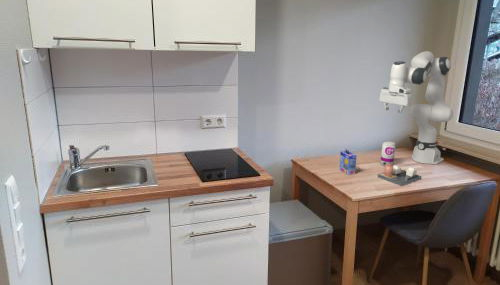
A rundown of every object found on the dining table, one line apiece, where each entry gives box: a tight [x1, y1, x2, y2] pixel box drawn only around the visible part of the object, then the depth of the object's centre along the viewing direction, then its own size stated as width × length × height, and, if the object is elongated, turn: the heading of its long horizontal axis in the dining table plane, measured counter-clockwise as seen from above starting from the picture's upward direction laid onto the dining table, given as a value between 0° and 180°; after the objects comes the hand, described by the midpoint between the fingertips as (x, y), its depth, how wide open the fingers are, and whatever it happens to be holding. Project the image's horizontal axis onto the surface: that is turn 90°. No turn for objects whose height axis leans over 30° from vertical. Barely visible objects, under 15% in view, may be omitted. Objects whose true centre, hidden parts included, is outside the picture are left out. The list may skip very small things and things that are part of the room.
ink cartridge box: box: [338, 148, 357, 176], centre depth 225 cm, size 10×6×14 cm, turn 20°
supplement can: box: [379, 141, 396, 167], centre depth 240 cm, size 8×8×15 cm
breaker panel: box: [377, 169, 422, 186], centre depth 217 cm, size 20×16×3 cm
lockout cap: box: [384, 164, 394, 177], centre depth 215 cm, size 5×5×7 cm
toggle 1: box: [393, 164, 402, 175], centre depth 219 cm, size 4×4×5 cm
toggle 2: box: [405, 166, 418, 176], centre depth 216 cm, size 4×4×5 cm
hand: (393, 111), depth 225 cm, fingers open, 8 cm apart
